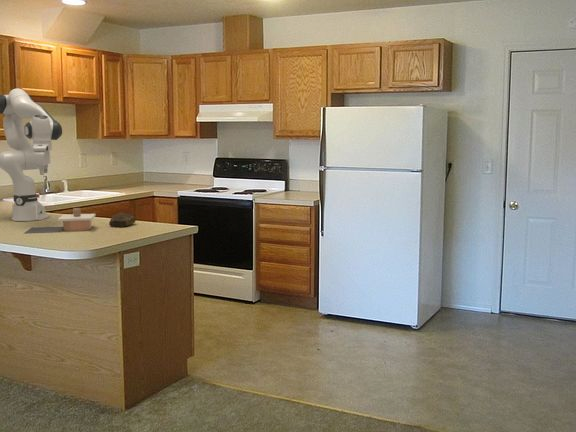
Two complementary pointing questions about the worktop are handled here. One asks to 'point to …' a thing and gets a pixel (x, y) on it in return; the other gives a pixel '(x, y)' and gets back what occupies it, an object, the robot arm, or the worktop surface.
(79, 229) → the bowl
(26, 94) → the robot arm
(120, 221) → the stone
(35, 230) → the mat
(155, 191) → the worktop surface
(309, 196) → the worktop surface
